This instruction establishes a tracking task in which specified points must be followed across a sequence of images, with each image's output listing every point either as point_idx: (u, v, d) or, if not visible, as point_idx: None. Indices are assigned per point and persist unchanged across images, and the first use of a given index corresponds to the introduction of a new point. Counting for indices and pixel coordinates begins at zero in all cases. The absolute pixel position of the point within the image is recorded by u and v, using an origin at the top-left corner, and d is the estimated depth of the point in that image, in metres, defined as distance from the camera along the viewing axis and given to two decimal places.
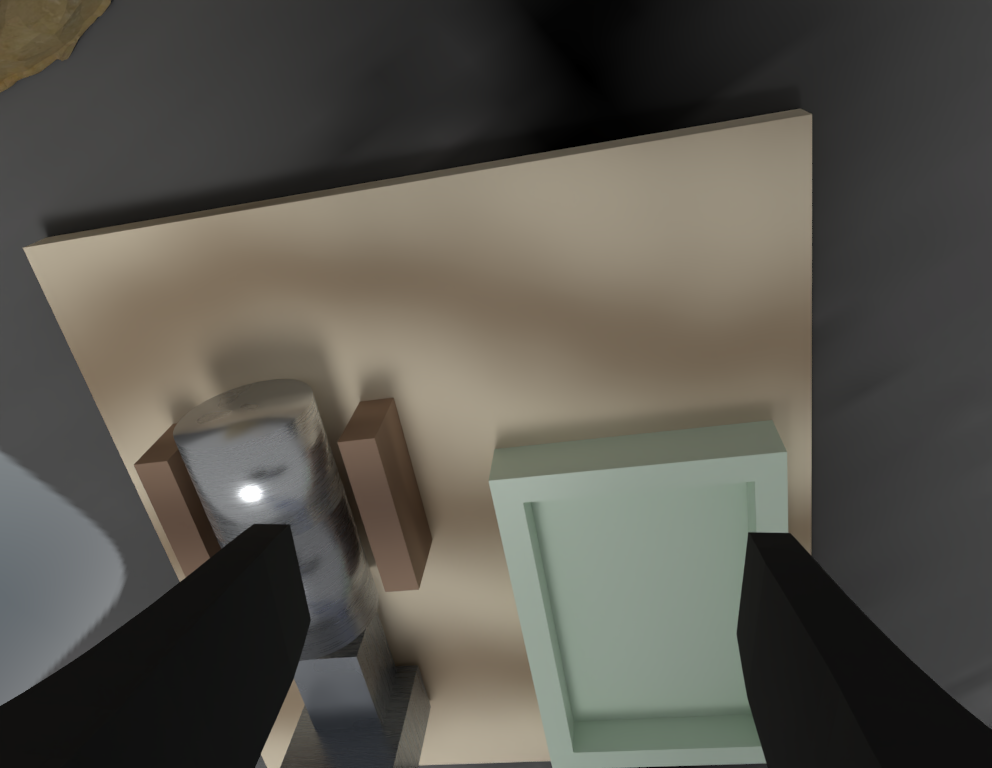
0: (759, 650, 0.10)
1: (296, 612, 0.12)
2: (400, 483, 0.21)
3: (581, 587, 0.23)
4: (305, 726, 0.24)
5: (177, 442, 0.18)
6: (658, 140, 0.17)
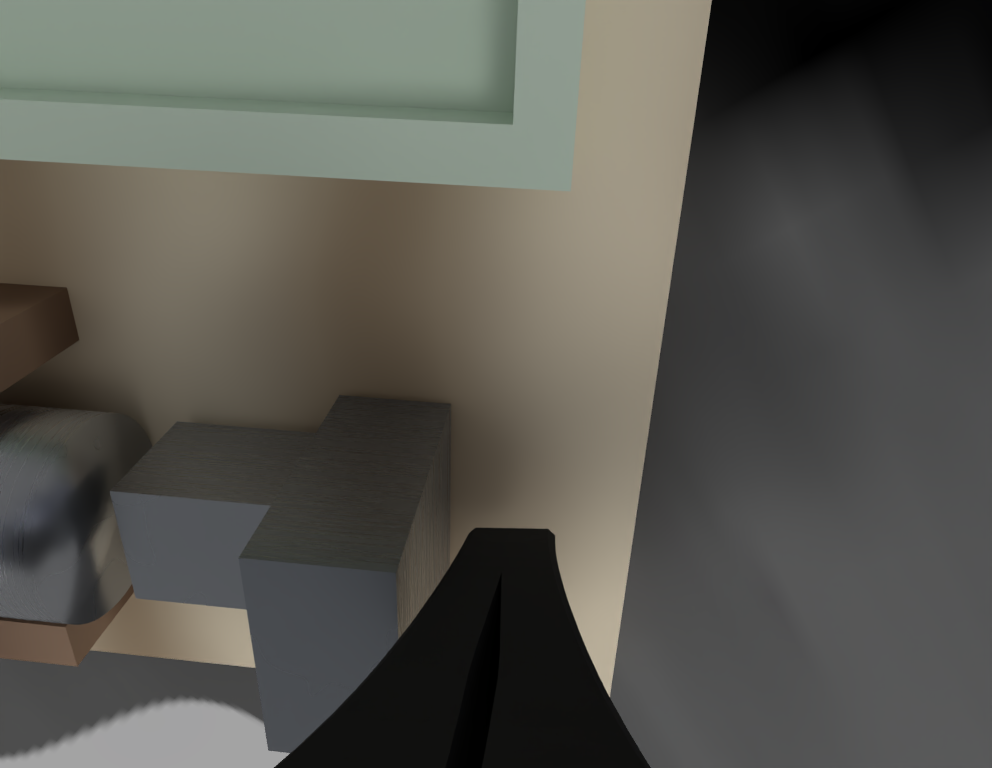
0: None
1: None
2: None
3: (110, 16, 0.11)
4: None
5: None
6: None
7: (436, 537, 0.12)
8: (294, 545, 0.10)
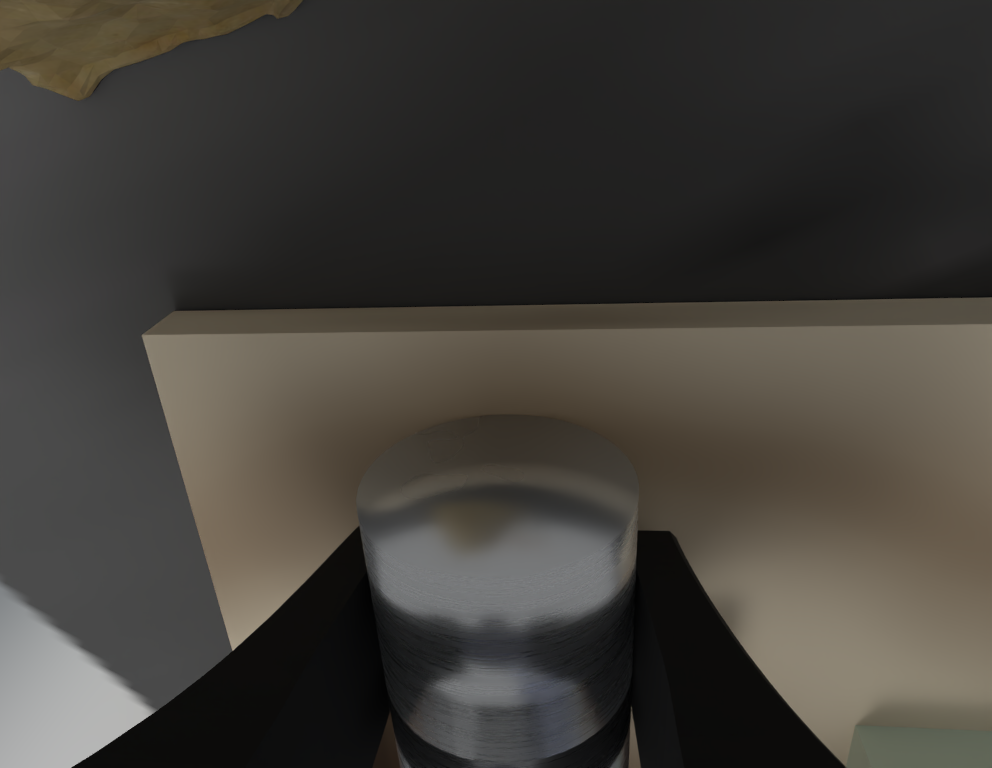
0: (633, 646, 0.11)
1: None
2: None
3: None
4: None
5: (377, 543, 0.09)
6: None
7: None
8: None
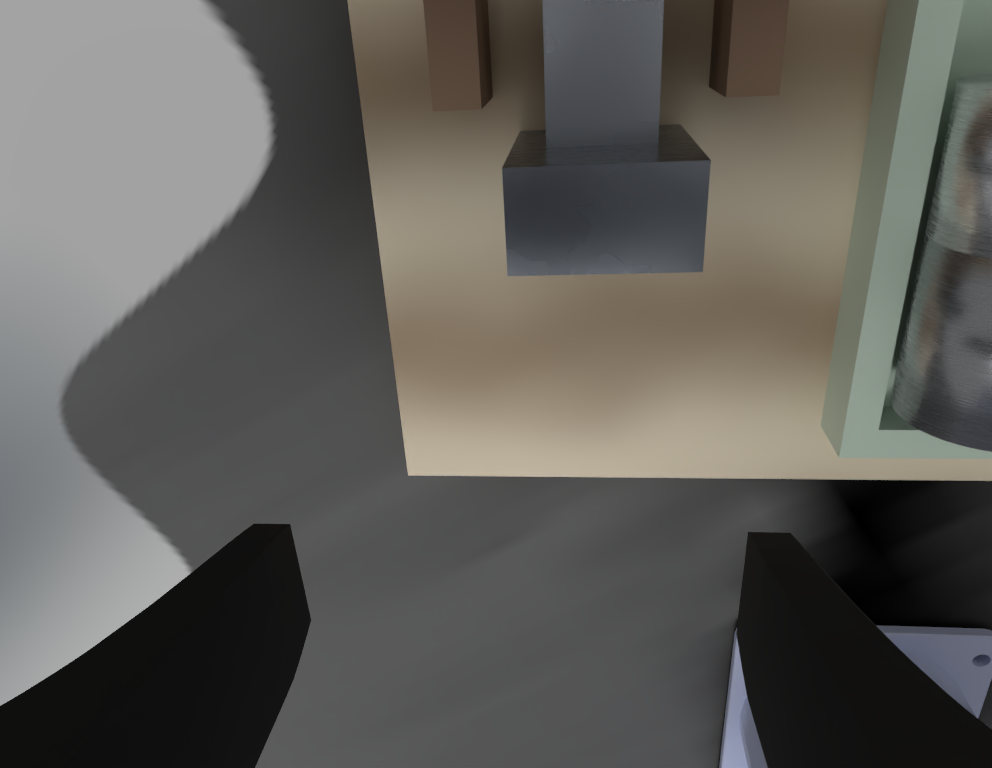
0: (759, 650, 0.10)
1: (296, 612, 0.12)
2: None
3: None
4: (527, 147, 0.15)
5: (976, 86, 0.14)
6: None
7: None
8: (705, 191, 0.13)
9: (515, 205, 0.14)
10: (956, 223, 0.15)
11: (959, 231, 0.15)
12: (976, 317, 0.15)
